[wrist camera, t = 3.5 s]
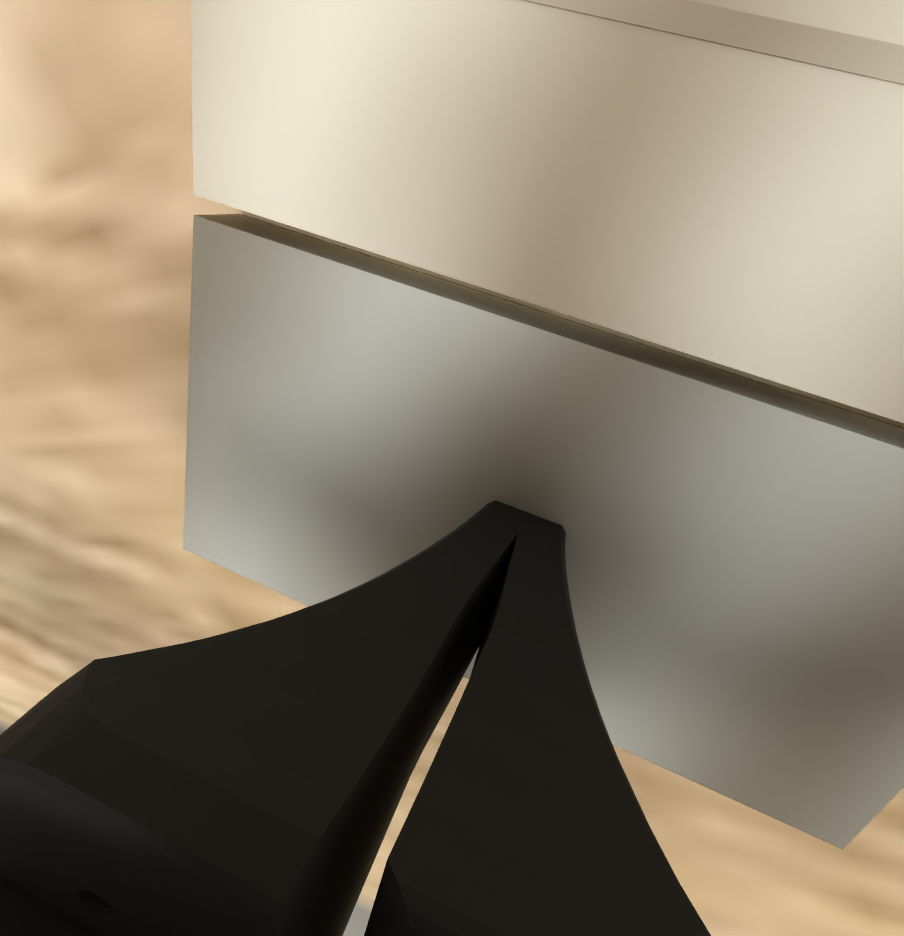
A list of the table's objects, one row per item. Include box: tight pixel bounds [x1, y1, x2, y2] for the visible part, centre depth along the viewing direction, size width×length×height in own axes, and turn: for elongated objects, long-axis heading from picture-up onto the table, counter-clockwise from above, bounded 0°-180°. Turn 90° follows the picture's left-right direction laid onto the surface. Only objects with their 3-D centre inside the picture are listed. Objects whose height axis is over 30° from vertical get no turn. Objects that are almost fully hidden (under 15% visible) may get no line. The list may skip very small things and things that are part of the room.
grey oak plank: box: [183, 214, 904, 849], centre depth 11 cm, size 14×7×1 cm, turn 77°
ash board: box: [191, 0, 904, 423], centre depth 7 cm, size 14×7×1 cm, turn 77°
